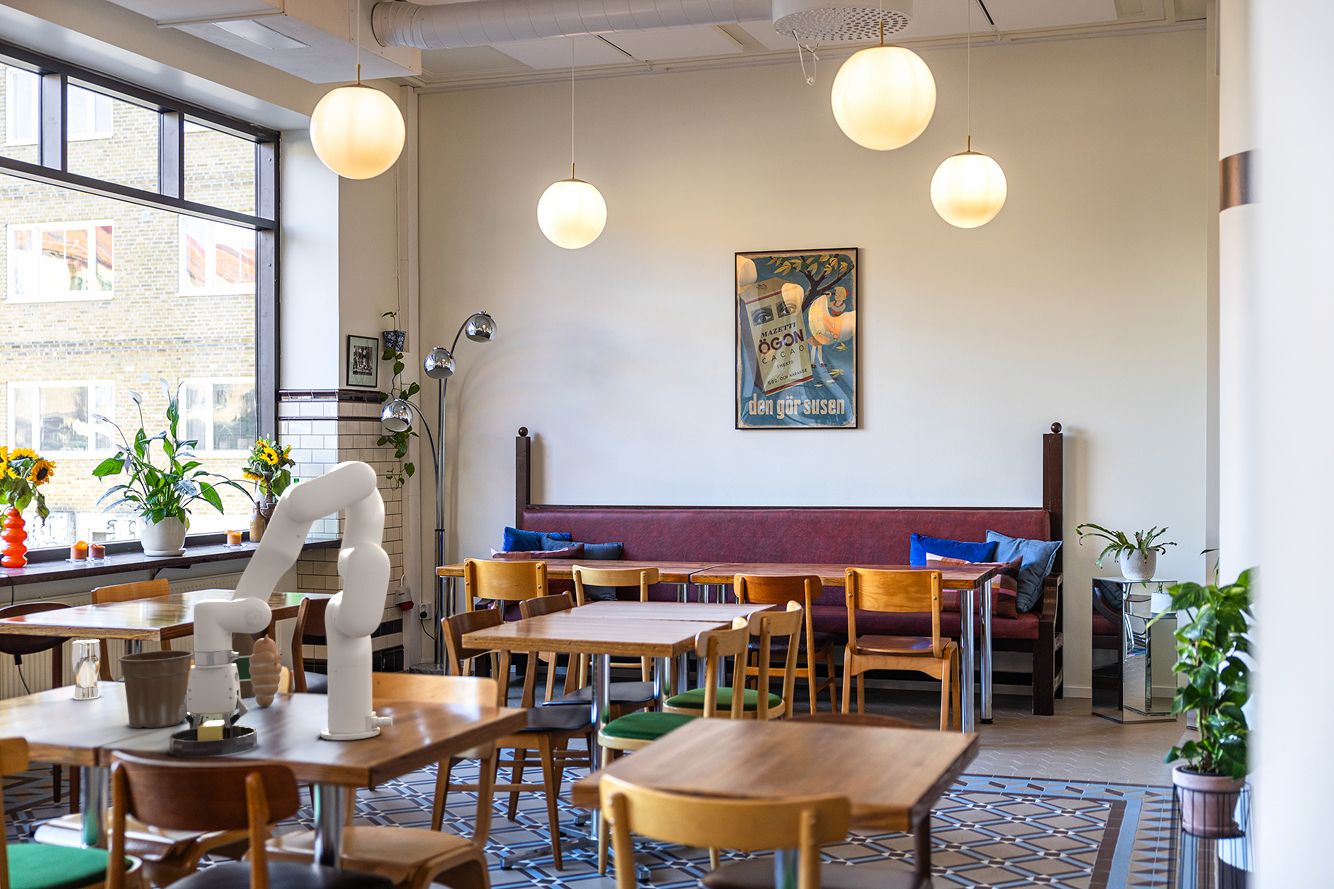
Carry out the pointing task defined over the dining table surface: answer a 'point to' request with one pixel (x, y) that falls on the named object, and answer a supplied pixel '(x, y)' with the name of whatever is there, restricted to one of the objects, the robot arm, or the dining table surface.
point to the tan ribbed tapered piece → (265, 670)
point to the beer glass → (86, 668)
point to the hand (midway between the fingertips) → (213, 745)
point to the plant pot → (155, 687)
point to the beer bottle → (243, 662)
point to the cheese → (211, 730)
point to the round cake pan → (212, 743)
